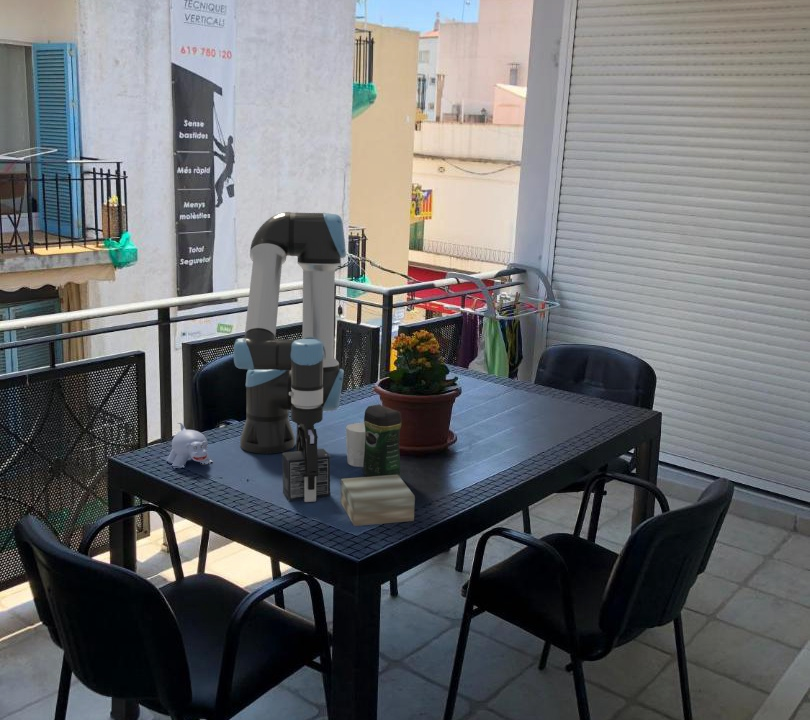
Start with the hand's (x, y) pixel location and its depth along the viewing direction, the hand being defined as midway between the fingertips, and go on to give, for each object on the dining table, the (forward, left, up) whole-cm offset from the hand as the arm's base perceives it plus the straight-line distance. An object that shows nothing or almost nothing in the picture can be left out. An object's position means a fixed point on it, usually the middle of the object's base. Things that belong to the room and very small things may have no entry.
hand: (306, 493), depth 226 cm
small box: (0, 0, -1) cm, 1 cm away
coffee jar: (-8, +21, 0) cm, 23 cm away
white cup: (-19, +18, 0) cm, 26 cm away
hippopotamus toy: (-27, -26, -1) cm, 37 cm away
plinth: (+14, +14, 0) cm, 20 cm away
